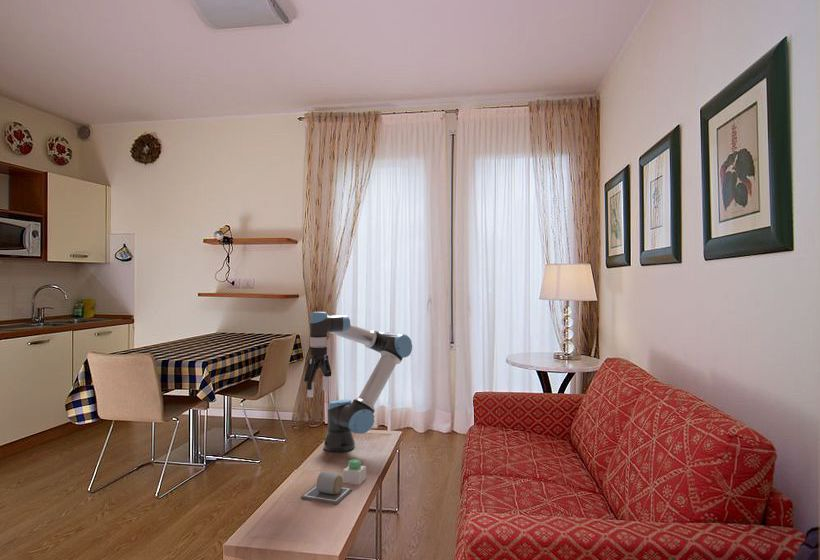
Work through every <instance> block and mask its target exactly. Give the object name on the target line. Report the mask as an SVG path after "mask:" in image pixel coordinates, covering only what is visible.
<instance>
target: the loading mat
mask: <svg viewBox="0 0 820 560" xmlns="http://www.w3.org/2000/svg"><path fill="white" fill-rule="evenodd" d="M352 491H353V488H351V487H345V486H342V489H341V491H340V492H339V493H338V494H334V495H333V494H328V493H322V492H318V491H317V488H316V485H314V486H313V487H312V488H310V489H309V490H307V491H306V492H305V493H303V494H302V495H301V496H300V499H302V500H308V501H312V500H313V501H314V502H319V503H324V504H330V503H331V505H338V504H339V503H340V502H342V500H344V499H345V498H346V497H347V496H348V495H350V494H351V492H352ZM313 501H312V502H313Z"/></svg>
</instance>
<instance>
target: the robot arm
mask: <svg viewBox="0 0 820 560" xmlns="http://www.w3.org/2000/svg"><path fill="white" fill-rule="evenodd" d="M309 318H310V319H309V320H310V321H309V324H310V325H309V327H310V328H309V341H310V342H309V345H310V347H309V355H310V356H312V358H308V359H307V366H306V370H305V374H304V377H303V378H304V379H303V381H304V382H306V394H307V395H306V396H307V398H314V391H315V389H314V387H315V386H314V384H315V382H314V379H315V376H316V373H317V371H318V369H319V368H320V370H321V373H322V375H323V376H322V391H324V392H328V391H330V389H329V387H330V386H329V385H330V381H329V380H330V378H329V377H331V376H332V369H331V365H330V362H329V355H327V354H328V347H327V346H328V333H329V334H332V335H335V336H338V337H341V338H344V339H347V340H349V341H353V342H354V343H355V342H356V343H359V344H362V345H364V347H365V348H366V349H367V348H368V349H370V350H373V351H375V352H378V353H380V358H379V360H378V362H377V364H375V367H374V369H373V371H372V373H371V374H370V376H369V378H368V380H367V382H366V383H365V385H364V386H363V389H362V391H361V393H360V395H359V396H358V397H356V398H354V399H353V400H351V399H337V400H332V401H329V403H328V404H327V433H326V435H325V436H326V437H325V438H324V439H325V440H324V442H323V449H324V450H326V451H327V452H330V453H342V452H343V453H344V452H348V451H351V450H353V449H355V447H356V444H355V443H356V442H355V438H354V435H353V433H354V434H359V435H363V434H367V432H369V431H370V430H371V429H372V428H373V426H374V423H375V414H374V413H375V406H376V403H377V401H378V399H379V397H380V395H381V393H382V392H383V390H384V388H385V386H386V385H387V383H388V381H389V379H390V377H391V375H392V373H393V371H394V369H395V367H396V366H397V365H398V364H401V362H402V360H403V359H405V358H408V357H409V356H410V355H411V353H412V351H413V344H412V339H411V338H410V336H408V335H407V334H404V333H402V332H400V333H399V332H397V333H396V332H389V331H387V332H386V331H377V330H373V329H369V330H368V329H365V328H363V327H359V326H357V325H355V324H352V323H351V319H350V317H349V315H336V314H335V315H333V314H328V313H327V312H326V311H312V312H311V313H310V317H309Z"/></svg>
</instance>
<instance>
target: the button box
mask: <svg viewBox="0 0 820 560" xmlns="http://www.w3.org/2000/svg"><path fill="white" fill-rule="evenodd" d="M342 479H343V483H344V482H345V483H346V484H350V485H351V484H352V485H358V486H359V485H360V484H361V483H362V482H363V481H365V480H366V479H367V466H366V465H361V467H359V468H349V465H348V466H347V467H345V468H344V469H343V470H342Z"/></svg>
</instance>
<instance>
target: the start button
mask: <svg viewBox="0 0 820 560" xmlns="http://www.w3.org/2000/svg"><path fill="white" fill-rule="evenodd" d="M348 466H349V468H359V467H361V466H362V461H361V459H358V458H357V459H356V458H354V459H350V460H348Z"/></svg>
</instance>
